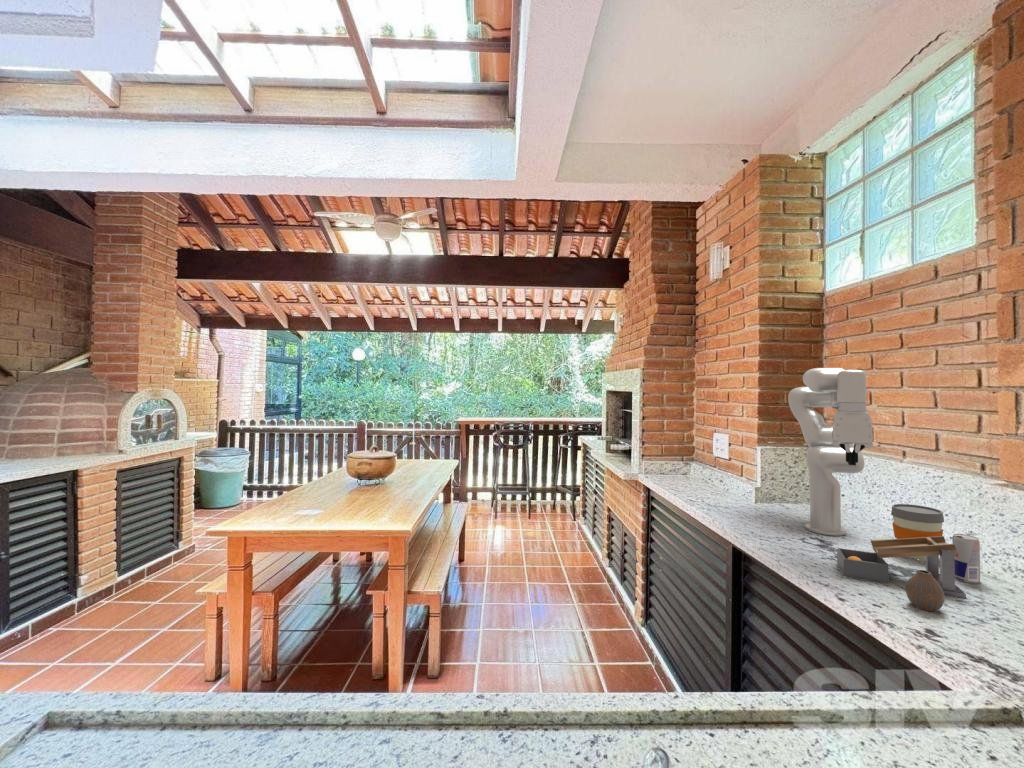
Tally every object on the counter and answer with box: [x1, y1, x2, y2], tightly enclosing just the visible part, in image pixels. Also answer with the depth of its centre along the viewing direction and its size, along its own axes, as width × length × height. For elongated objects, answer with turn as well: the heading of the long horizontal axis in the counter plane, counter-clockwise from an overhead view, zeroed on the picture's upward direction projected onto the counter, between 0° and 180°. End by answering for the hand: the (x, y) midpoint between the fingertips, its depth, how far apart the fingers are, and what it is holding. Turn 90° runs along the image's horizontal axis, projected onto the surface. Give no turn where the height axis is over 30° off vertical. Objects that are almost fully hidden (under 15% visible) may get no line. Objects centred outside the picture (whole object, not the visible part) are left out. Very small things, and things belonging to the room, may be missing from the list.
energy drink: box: [952, 533, 981, 585], centre depth 125 cm, size 5×5×12 cm
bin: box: [836, 547, 889, 584], centre depth 129 cm, size 10×10×5 cm
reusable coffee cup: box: [890, 503, 945, 561], centre depth 143 cm, size 13×12×15 cm
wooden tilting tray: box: [870, 535, 957, 559], centre depth 127 cm, size 15×16×3 cm
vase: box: [905, 569, 945, 612], centre depth 109 cm, size 7×7×9 cm
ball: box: [847, 556, 862, 561], centre depth 130 cm, size 4×4×4 cm
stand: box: [915, 549, 967, 599], centre depth 121 cm, size 14×6×11 cm, turn 153°
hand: (851, 464), depth 145 cm, fingers closed
